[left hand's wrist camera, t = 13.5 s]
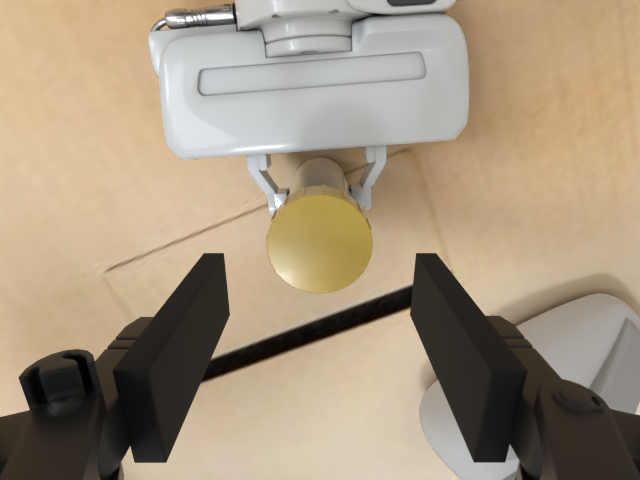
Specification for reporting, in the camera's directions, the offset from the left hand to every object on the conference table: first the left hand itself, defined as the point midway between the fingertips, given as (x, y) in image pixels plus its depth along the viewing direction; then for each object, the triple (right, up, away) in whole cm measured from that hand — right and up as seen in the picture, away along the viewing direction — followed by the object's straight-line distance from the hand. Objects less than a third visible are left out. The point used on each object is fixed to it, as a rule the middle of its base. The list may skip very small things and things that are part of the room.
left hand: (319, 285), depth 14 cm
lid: (0, +2, +4) cm, 5 cm away
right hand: (0, +4, +13) cm, 14 cm away
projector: (+22, -12, +26) cm, 36 cm away
